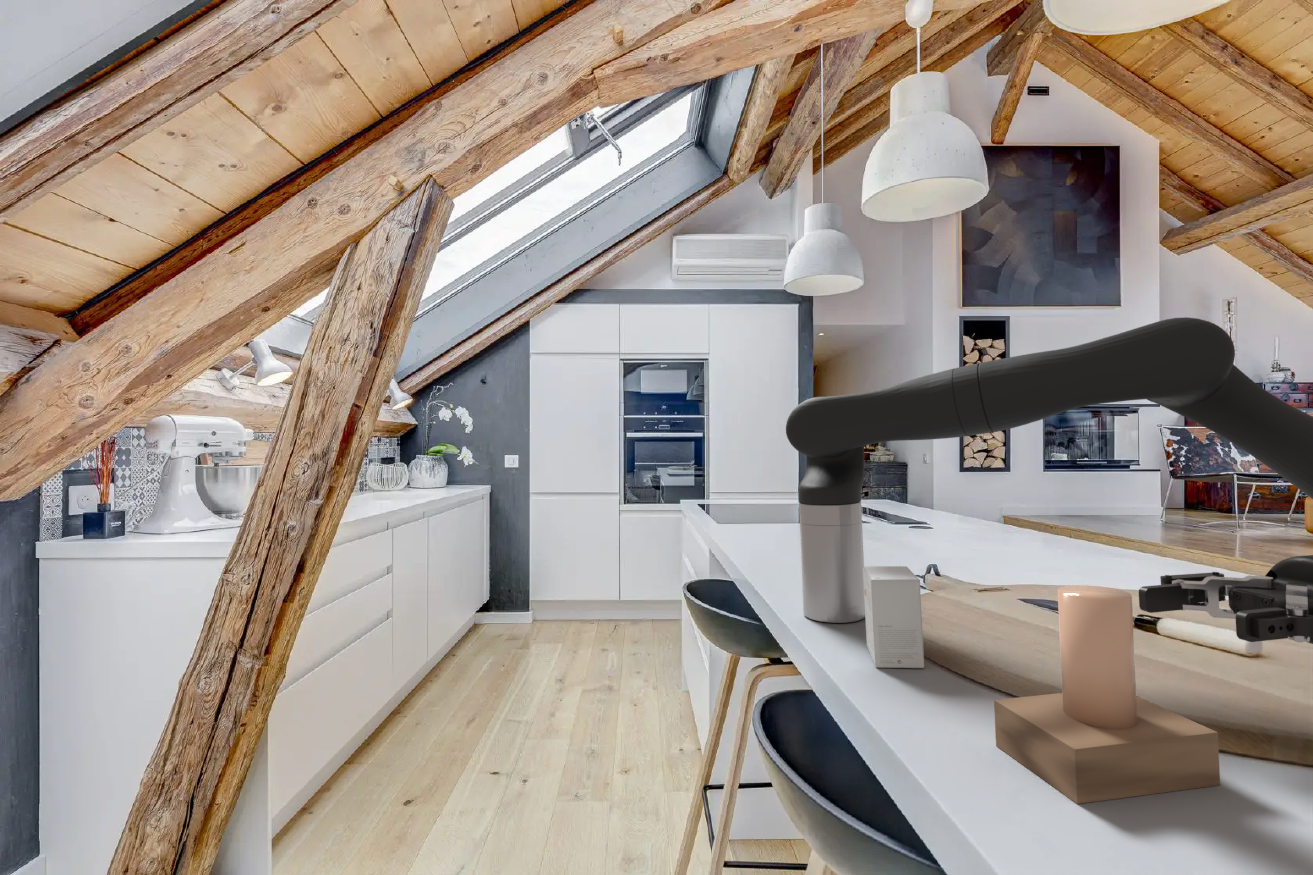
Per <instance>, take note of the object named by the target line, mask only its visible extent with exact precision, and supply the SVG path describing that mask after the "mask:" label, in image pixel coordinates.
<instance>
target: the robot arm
mask: <svg viewBox="0 0 1313 875" xmlns="http://www.w3.org/2000/svg"><path fill="white" fill-rule="evenodd" d="M1235 357H1236V348H1235V345H1234V341H1233V339H1232V337H1231V336H1230V335H1229V333H1228V332H1227V331H1226V330H1224V329H1223V328H1222V327H1220V325H1218V324H1215V323H1213V322H1212V321H1208V320H1205V319H1202V318H1201V319H1200V318H1196V317H1195V318H1194V317H1186V316H1185V317H1173V318H1167V319H1163V320H1159V321H1155V322H1152V323H1149V324H1145V325H1142V326H1139V327H1137V328H1133V329H1130V330H1126V331H1124V332H1120V333H1117V334H1113V335H1110V336H1106V337H1103V338H1099V339H1096V340H1093V341H1089V342H1086V343H1081V344H1078V345H1075V346H1070V347H1065V348H1059V349H1054V350H1053V349H1052V350H1044V351H1040V352H1033V353H1027V354H1021V355H1016V356H1010V357H1006V358H1005V357H1004V358H1000V359H993V360H988V361H983V362H979V363H974V364H969V365H964V366H960V367H955V368H950V369H946V370H942V371H938V372H935V373H930V374H927V375H923V376H920V377H916V378H913V379H909V380H906V381H903V382H899V383H897V384H893V385H890V386H887V387H884V388H880V389H875V390H872V391H871V390H870V391H865V392H857V393H851V394H850V393H849V394H841V395H832V396H831V395H830V396H816V397H815V396H814V397H811V398H808V399H805V400H804V401H802V402H801V403H799V404H797V405H796V406H795V407H794V409H792V411H791V412H790V414H789V416H788V417H787V419H786V424H785V433H786V434H785V435H786V438H787V440H788V442H789V443H790V445H791V446H792V447H793V448H794V449H795V450H796V451H797V452H798V453H801V454H802V455H804V456H805V460H806V461H805V462H806V463H805V464H806V466H805V473H804V476H803V479H802V480H801V481H800V483H799V485H798V487H797V488H798V490H797V494H798V496H797V497H798V512H799V514H798V515H799V516H798V517H799V533H800V534H799V536H800V537H799V538H800V558H801V559H800V560H801V580H802V606H803V615H804V616H805V617H806V618H808V619H810V620H814V621H818V622H822V623H823V622H824V623H834V624H835V623H840V624H841V623H843V624H844V623H854V622H858V621H860V620H861V621H862V620H863V619H865V600H864V582H863V567H865V556H864V535H863V534H864V532H863V518H862V517H863V516H862V515H863V513H862V488H863V484H864V480H865V446H870V445H873V444H879V443H884V442H886V443H887V442H897V441H927V440H928V441H930V440H941V439H944V440H945V439H952V438H953V439H954V438H962V437H963V438H964V437H969V436H975V435H976V436H977V435H982V434H983V435H984V434H990V433H993V432H994V433H996V432H1000V431H1006V430H1010V429H1014V428H1018V427H1021V426H1026V425H1029V424H1031V423H1034V422H1038V421H1041V420H1044V419H1047V418H1050V417H1052V416H1056V415H1059V414H1061V413H1064V412H1067V411H1071V410H1075V409H1078V408H1083V407H1088V406H1095V405H1101V404H1108V403H1109V404H1110V403H1118V402H1119V403H1120V402H1127V401H1128V402H1129V401H1139V400H1147V401H1149V402H1151V403H1154V404H1157V405H1159V406H1161V407H1163V408H1165V409H1167V410H1169V411H1172V412H1174V413H1176V414H1178V415H1179V416H1182V417H1184V418H1186V419H1188V420H1190V421H1193V423H1196V424H1198V425H1200V426H1202V427H1204V428H1205V429H1207V430H1209V431H1211V432H1212V433H1214V434H1216V435H1218V436H1220V437H1221V438H1223V439H1225V440H1227V442H1230V443H1232V444H1233V445H1235V446H1236V447H1238V448H1239V449H1241V450H1242V451H1244V452H1246V453H1247V454H1249V455H1250V456H1252V457H1253V458H1255V459H1256V460H1258V461H1259V462H1260V463H1261V464H1263V465H1264V466H1266V467H1267V468H1269V469H1270V470H1272V471H1273V472H1274V473H1275V474H1277V475H1279V476H1280V477H1282V478H1283V479H1284V480H1285V481H1287V482H1288V483H1290V484H1291V485H1293V486H1294V487H1295V488H1297V489H1298V490H1299V491H1301V492H1302V493H1304V494H1305V495H1306V496H1308V497H1310V498H1311V499H1312V500H1313V416H1312V415H1310V414H1308V413H1306V412H1305V411H1302V410H1300V409H1298V408H1297V407H1295V406H1293V405H1292V404H1289V403H1287V402H1285V401H1284V400H1282V399H1280V398H1278V397H1277V396H1276V395H1274V394H1272V393H1270V392H1269V391H1267V390H1266V389H1265V388H1263V387H1261V385H1259V384H1258V383H1256V382H1255V381H1254V380H1252V379H1251V378H1250V377H1249V376H1248V375H1246V374H1245V373H1244V372H1243V371H1242V370H1240V368H1238V366H1236V365H1235V364H1234V363H1235ZM1159 577H1160V584H1157V585H1144V586H1141V587H1140V588H1139V589H1138V603H1139V604H1138V605H1139V609H1140V610H1141V611H1142V612H1146V613H1150V614H1153V613H1162V612H1163V613H1165V612H1174V611H1196V612H1197V611H1199V612H1205V613H1208V615H1209V616H1210V617H1212V618H1217V619H1230V620H1235V631H1236V632H1235V633H1236V637H1237V638H1238V639H1239V640H1242V641H1245V642H1249V643H1256V642H1265V641H1275V640H1283V639H1288V640H1290V641H1294V642H1296V643H1304V642H1305V643H1309V644H1311V645H1313V554H1310V555H1309V554H1308V555H1298V556H1291V557H1286V558H1284V559H1282V560H1280V561H1278V562H1276V563H1275V564H1273V566H1272V567H1271V568H1270V569H1269V570H1268V572H1267V573H1266V574H1265V575H1245V576H1244V577H1228V576H1227V577H1226V576H1225V574H1224V573H1222V572H1219V571H1211V572H1201V573H1200V572H1199V573H1184V574H1172V575H1170V574H1165V575H1160V576H1159ZM1226 597H1227V598H1228V607H1229V609H1225V608H1224V609H1223V608H1220V602H1224V601H1226Z"/></svg>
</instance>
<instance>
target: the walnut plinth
mask: <svg viewBox="0 0 1313 875" xmlns="http://www.w3.org/2000/svg"><path fill="white" fill-rule="evenodd" d="M1136 698H1137V720H1138V723H1137V725H1136V726H1134V727H1131V728H1126V729H1109V728H1102V727H1096V726H1092V725H1088V724H1085V723H1082V722H1079V721H1077V720H1074V719H1072V718H1071V717H1069V716H1068V715H1066V714H1065V713H1064V711H1063V700H1062V692H1057V693H1048V694H1041V695H1039V694H1038V695H1028V696H1020V697H1012V698H1001V699H994V700H993V707H994V728H995V730H994V731H995V746H996V748H999V749H1000V750H1001V751H1002V752H1004V753H1005V754H1007V755H1008V756H1010V757H1011V758H1013V760H1015V761H1016V762H1018V764H1021V765H1022V766H1023V767H1024V768H1026V769H1028V770H1029V771H1030V772H1032V773H1033V774H1035V775H1036V776H1037V777H1039V778H1040V779H1042V780H1043V781H1044V782H1046V783H1047V784H1049V785H1050V786H1051V787H1053V788H1054V789H1055V790H1057V791H1058V792H1060V793H1061V794H1063V795H1064V796H1066V797H1067V798H1069V799H1070V800H1071V801H1073V803H1076V805H1079V804H1086V803H1093V802H1103V801H1108V800H1109V801H1110V800H1117V799H1123V798H1124V799H1125V798H1132V797H1140V796H1147V795H1154V794H1162V793H1164V794H1165V793H1170V792H1178V791H1186V790H1193V789H1199V788H1202V789H1203V788H1207V787H1216V786H1221V774H1220V773H1221V772H1220V755H1219V754H1220V752H1219V751H1220V750H1219V731H1215V730H1213V729H1211V728H1209V727H1207V726H1205V725H1203V724H1201V723H1197V722H1196V721H1193V720H1192V719H1189V718H1187V717H1185V716H1182V715H1180V714H1179V713H1176V712H1174V711H1171V710H1170V709H1168V708H1167V709H1166V707H1165V708H1164V707H1163V706H1160V705H1158V704H1156V703H1154V702H1152V701H1149V700H1147V699H1144V698H1142V697H1140V696H1138V695H1136Z"/></svg>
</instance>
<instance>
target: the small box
mask: <svg viewBox="0 0 1313 875" xmlns="http://www.w3.org/2000/svg"><path fill="white" fill-rule="evenodd" d="M920 581H921V580H920V578H919V577H917V576H916V575H915V573H914V572H913V571H912V570H911V568H909V567H908V566H904V565H903V566H901V565H900V566H899V565H898V566H897V565H896V566H895V565H893V566H887V565H886V566H885V565H884V566H881V565H880V566H878V565H877V566H876V565H875V566H874V565H873V566H864V567H863V582H864V600H865V618H864V619H865V635H866V636H865V638H866V648H867V649H868V651H869V654H870V657H871V659H872V661H873V664H874V666H875V668H876V669H877V668H878V669H879V668H884V669H885V668H890V669H891V668H893V669H894V668H895V669H896V668H897V669H925V655H924V654H925V653H924V633H923V632H924V631H923V617H922V599H921V595H922V594H921V582H920Z"/></svg>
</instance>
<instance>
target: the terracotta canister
mask: <svg viewBox="0 0 1313 875" xmlns="http://www.w3.org/2000/svg"><path fill="white" fill-rule="evenodd" d="M1057 605H1058V606H1057V608H1058V609H1057V610H1058V627H1059V628H1058V630H1059V633H1058V634H1059V652H1060V653H1059V654H1060V655H1059V656H1060V674H1061V693H1062V700H1063V711H1064V713H1065V714H1066V715H1068V716H1069V717H1071V718H1072V719H1074V720H1077V721H1079V722H1082V723H1085V724H1088V725H1092V726H1096V727H1102V728H1109V729H1126V728H1131V727H1134V726H1136V725H1137V723H1138V720H1137V698H1136V696H1137V681H1136V680H1137V678H1136V677H1137V676H1136V660H1135V658H1136V656H1135V636H1134V616H1133V615H1134V614H1133V610H1134V609H1133V596H1132V594H1131V593H1130V592H1128V591H1125V590H1122V589H1118V588H1114V587H1113V588H1112V587H1106V586H1098V585H1087V584H1086V585H1085V584H1083V585H1081V584H1080V585H1079V584H1078V585H1075V584H1073V585H1066V586H1059V587H1057Z"/></svg>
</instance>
